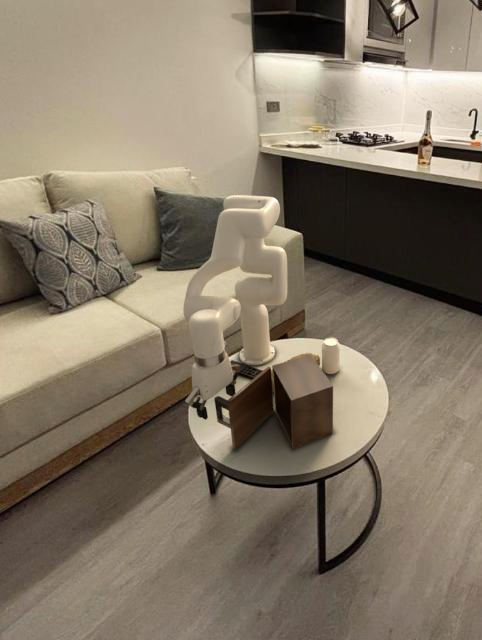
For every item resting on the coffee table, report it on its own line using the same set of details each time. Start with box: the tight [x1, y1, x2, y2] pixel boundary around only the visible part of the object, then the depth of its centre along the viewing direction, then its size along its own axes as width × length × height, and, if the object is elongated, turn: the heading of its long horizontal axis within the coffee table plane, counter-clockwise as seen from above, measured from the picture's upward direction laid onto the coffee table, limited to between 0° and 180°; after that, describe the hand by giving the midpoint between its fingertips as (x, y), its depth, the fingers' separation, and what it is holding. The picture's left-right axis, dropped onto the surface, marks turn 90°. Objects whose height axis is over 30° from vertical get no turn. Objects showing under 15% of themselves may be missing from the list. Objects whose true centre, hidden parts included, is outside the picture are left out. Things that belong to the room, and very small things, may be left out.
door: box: [214, 366, 275, 450], centre depth 116 cm, size 8×16×17 cm, turn 153°
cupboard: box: [271, 355, 334, 450], centre depth 118 cm, size 12×16×17 cm
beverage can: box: [321, 336, 341, 375], centre depth 141 cm, size 6×6×12 cm
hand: (217, 405), depth 112 cm, fingers open, 9 cm apart
